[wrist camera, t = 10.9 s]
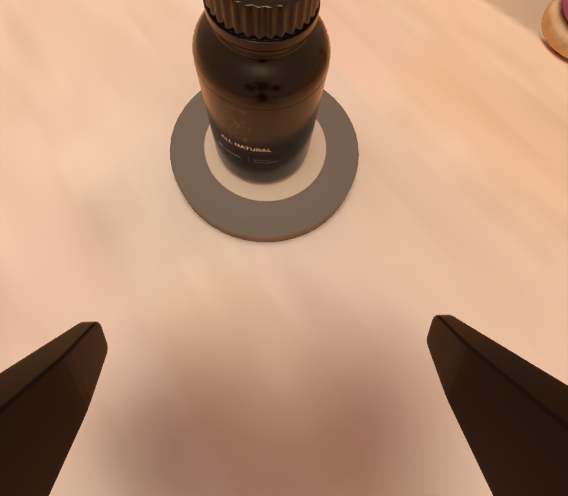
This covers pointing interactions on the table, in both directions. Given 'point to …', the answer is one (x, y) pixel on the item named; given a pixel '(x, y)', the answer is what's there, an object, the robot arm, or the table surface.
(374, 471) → the table surface
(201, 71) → the supplement bottle
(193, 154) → the hub pad
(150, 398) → the table surface
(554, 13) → the stacking toy
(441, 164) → the table surface
